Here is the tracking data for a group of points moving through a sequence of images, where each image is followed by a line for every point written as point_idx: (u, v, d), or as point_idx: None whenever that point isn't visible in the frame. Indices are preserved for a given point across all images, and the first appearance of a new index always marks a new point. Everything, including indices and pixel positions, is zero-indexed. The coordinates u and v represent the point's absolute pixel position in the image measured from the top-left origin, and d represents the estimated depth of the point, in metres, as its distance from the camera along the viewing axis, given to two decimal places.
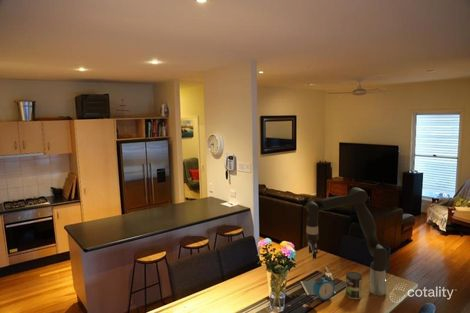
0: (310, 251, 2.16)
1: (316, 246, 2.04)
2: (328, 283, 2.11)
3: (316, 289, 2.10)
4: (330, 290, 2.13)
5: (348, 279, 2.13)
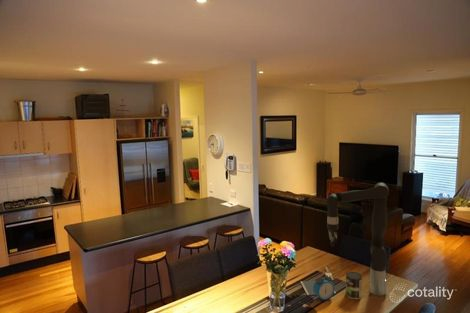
0: None
1: (336, 237, 2.21)
2: (328, 283, 2.11)
3: (316, 289, 2.10)
4: (330, 290, 2.13)
5: (348, 279, 2.13)
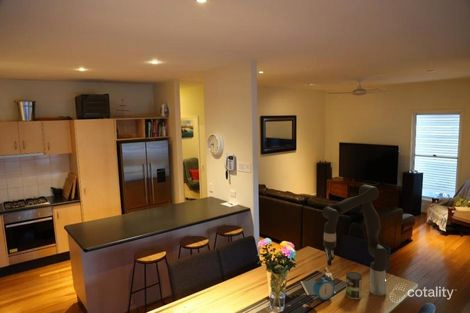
0: None
1: (333, 257, 1.98)
2: (328, 283, 2.11)
3: (316, 289, 2.10)
4: (330, 290, 2.13)
5: (348, 279, 2.13)
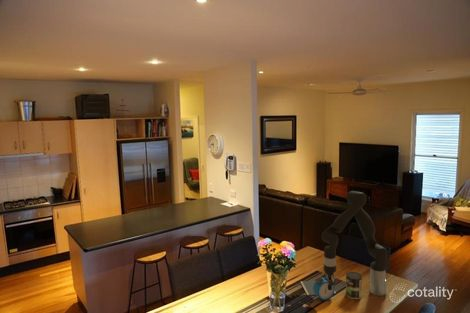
0: None
1: (333, 282, 1.96)
2: None
3: (316, 289, 2.10)
4: (330, 290, 2.13)
5: (348, 279, 2.13)
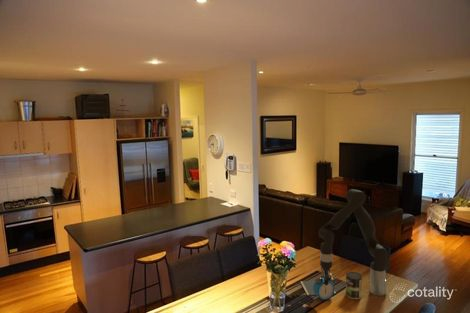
0: None
1: (330, 277, 2.02)
2: (328, 283, 2.11)
3: (316, 289, 2.10)
4: (330, 290, 2.13)
5: (348, 279, 2.13)
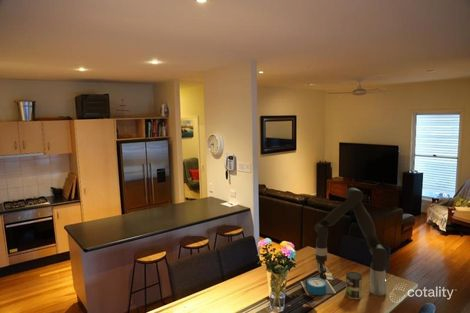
0: None
1: (325, 270, 2.11)
2: (315, 278, 2.27)
3: (307, 285, 2.22)
4: (321, 282, 2.23)
5: (348, 279, 2.13)
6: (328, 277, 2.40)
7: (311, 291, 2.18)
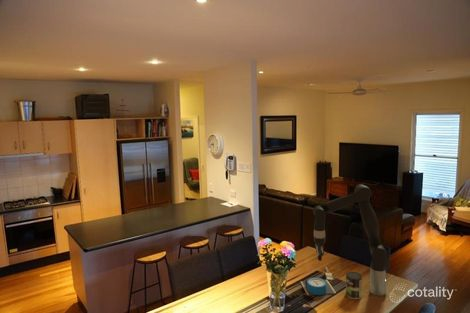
0: None
1: (323, 252, 2.13)
2: (315, 278, 2.27)
3: (307, 285, 2.22)
4: (321, 282, 2.23)
5: (348, 279, 2.13)
6: (328, 277, 2.40)
7: (311, 291, 2.18)
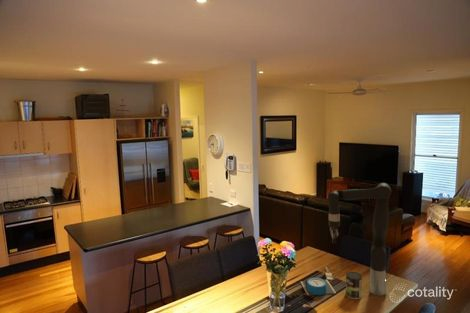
0: None
1: (337, 235, 2.21)
2: (315, 278, 2.27)
3: (307, 285, 2.22)
4: (321, 282, 2.23)
5: (348, 279, 2.13)
6: (328, 277, 2.40)
7: (311, 291, 2.18)
